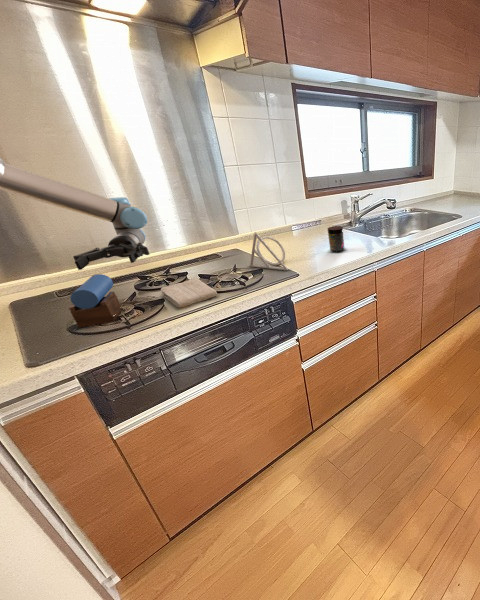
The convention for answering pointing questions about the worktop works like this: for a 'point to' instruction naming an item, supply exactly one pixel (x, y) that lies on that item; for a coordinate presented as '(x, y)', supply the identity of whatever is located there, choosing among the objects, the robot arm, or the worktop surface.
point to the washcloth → (188, 292)
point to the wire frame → (269, 251)
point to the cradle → (97, 312)
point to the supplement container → (336, 239)
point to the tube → (91, 291)
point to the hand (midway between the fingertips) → (104, 262)
